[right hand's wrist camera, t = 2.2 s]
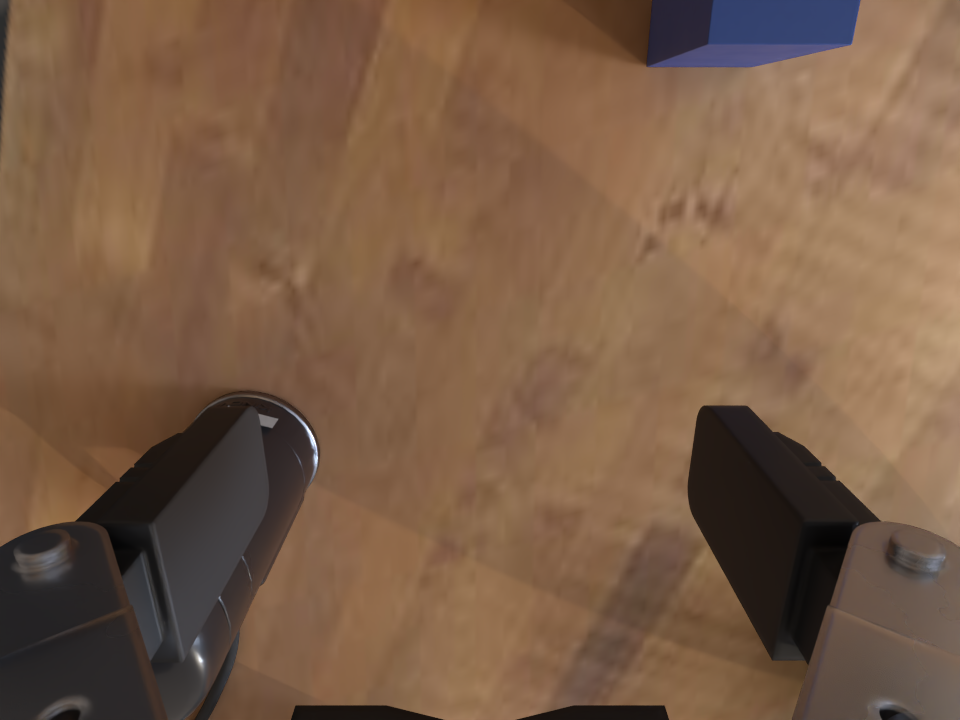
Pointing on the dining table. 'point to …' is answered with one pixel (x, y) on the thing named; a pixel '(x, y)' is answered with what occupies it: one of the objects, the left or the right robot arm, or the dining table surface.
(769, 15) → the box
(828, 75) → the dining table surface
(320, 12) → the dining table surface
